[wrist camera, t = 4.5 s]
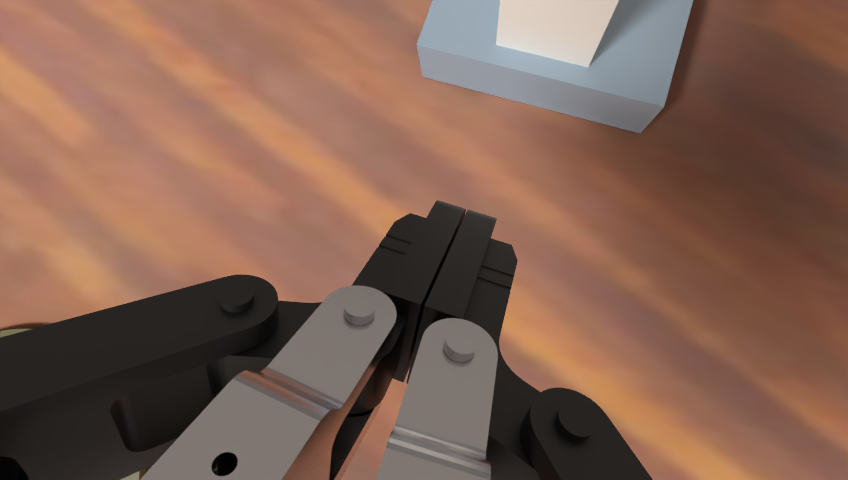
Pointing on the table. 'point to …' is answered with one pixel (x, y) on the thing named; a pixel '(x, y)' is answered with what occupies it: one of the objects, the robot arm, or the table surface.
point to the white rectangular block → (554, 27)
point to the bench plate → (557, 80)
